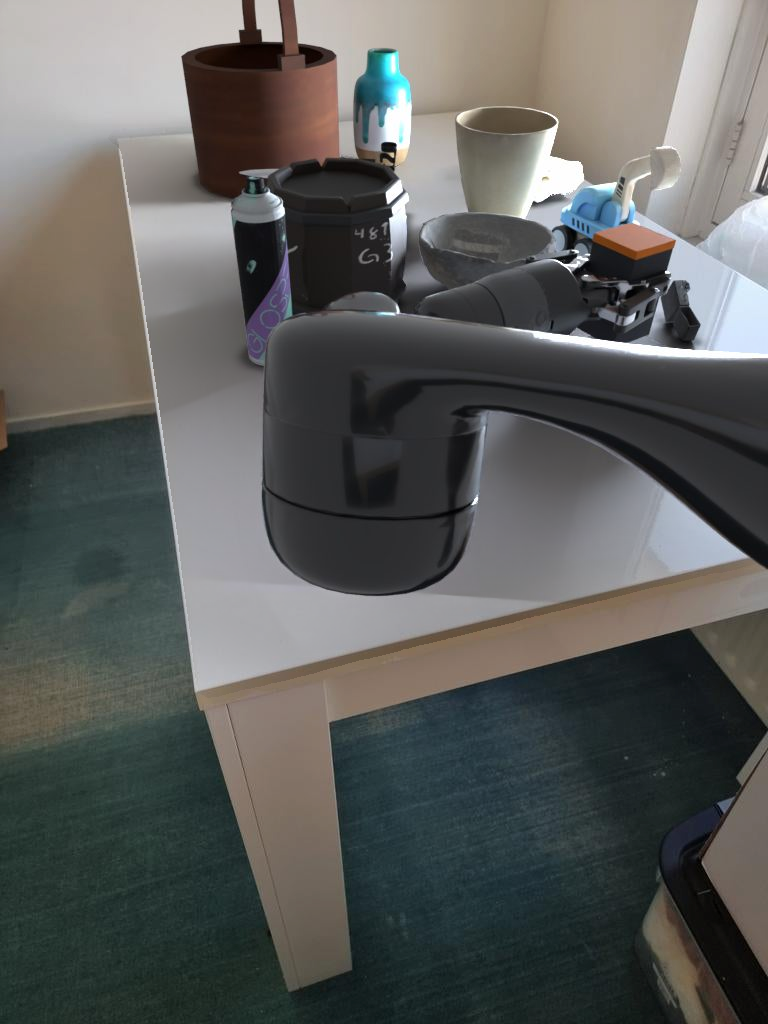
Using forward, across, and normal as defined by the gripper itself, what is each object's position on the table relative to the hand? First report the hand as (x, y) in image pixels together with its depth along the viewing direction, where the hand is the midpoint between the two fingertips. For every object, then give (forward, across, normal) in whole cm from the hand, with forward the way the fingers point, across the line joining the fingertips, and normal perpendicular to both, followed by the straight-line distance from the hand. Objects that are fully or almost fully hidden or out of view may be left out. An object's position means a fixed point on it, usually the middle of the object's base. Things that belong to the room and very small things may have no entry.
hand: (642, 270), depth 75 cm
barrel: (-16, -35, -13) cm, 40 cm away
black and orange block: (-3, 0, -6) cm, 7 cm away
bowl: (+3, -27, -13) cm, 30 cm away
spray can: (-30, -26, -14) cm, 42 cm away
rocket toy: (-6, -55, -13) cm, 57 cm away
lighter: (+17, -5, -13) cm, 22 cm away
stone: (+40, -55, -13) cm, 69 cm away
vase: (+21, -78, -13) cm, 82 cm away
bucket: (0, -85, -13) cm, 86 cm away
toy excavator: (+23, -24, -13) cm, 36 cm away
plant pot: (+19, -43, -13) cm, 48 cm away
